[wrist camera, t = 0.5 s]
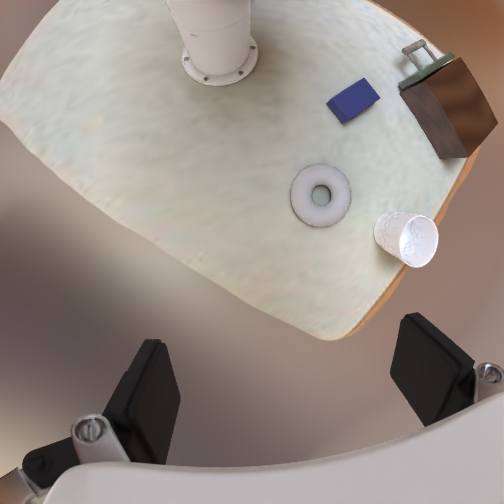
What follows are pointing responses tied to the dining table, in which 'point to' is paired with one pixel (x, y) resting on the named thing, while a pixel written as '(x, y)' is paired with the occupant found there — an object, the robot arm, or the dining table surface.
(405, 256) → the white cup
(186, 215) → the dining table surface
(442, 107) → the cabinet
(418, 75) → the drawer
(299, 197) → the donut
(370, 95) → the tall navy block
